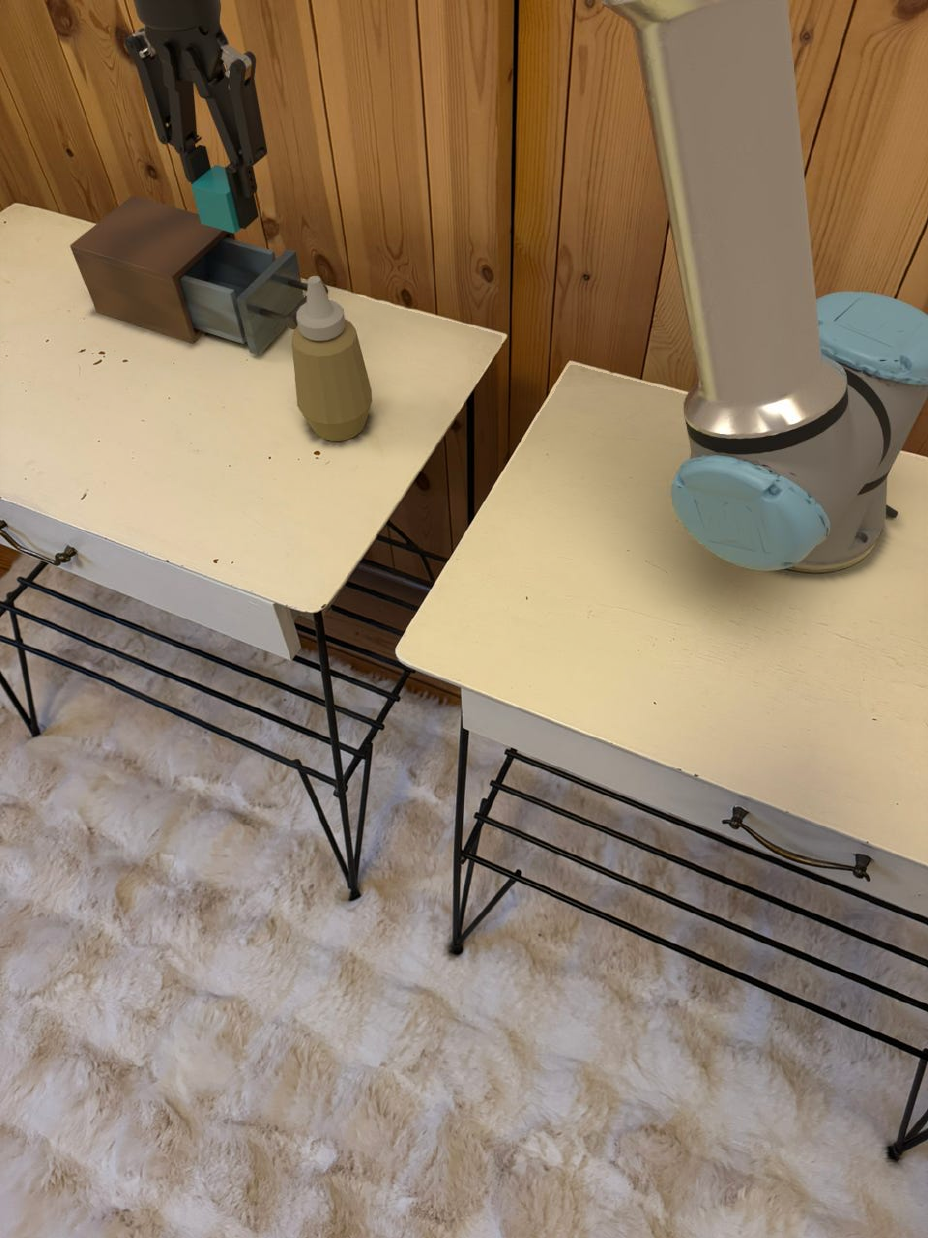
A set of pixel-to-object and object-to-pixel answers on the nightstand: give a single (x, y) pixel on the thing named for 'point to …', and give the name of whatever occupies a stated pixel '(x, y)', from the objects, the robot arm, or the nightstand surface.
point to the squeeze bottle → (329, 368)
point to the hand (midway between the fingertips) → (229, 215)
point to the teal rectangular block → (215, 200)
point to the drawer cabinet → (144, 264)
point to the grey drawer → (244, 293)
